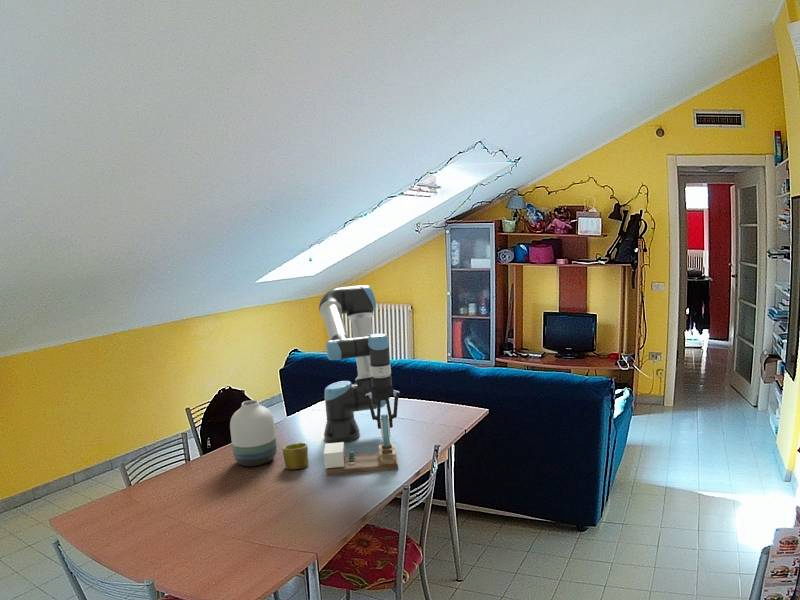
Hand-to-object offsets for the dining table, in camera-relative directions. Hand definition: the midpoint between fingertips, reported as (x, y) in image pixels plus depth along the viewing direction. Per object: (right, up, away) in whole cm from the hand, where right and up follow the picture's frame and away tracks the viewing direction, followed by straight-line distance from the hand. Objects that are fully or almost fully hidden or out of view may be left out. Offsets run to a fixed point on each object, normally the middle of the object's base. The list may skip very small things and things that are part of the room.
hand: (386, 436), depth 233 cm
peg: (0, -4, 0) cm, 4 cm away
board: (-9, -11, -1) cm, 14 cm away
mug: (-34, -12, +4) cm, 36 cm away
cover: (-19, -9, -2) cm, 21 cm away
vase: (-51, -12, +11) cm, 54 cm away
